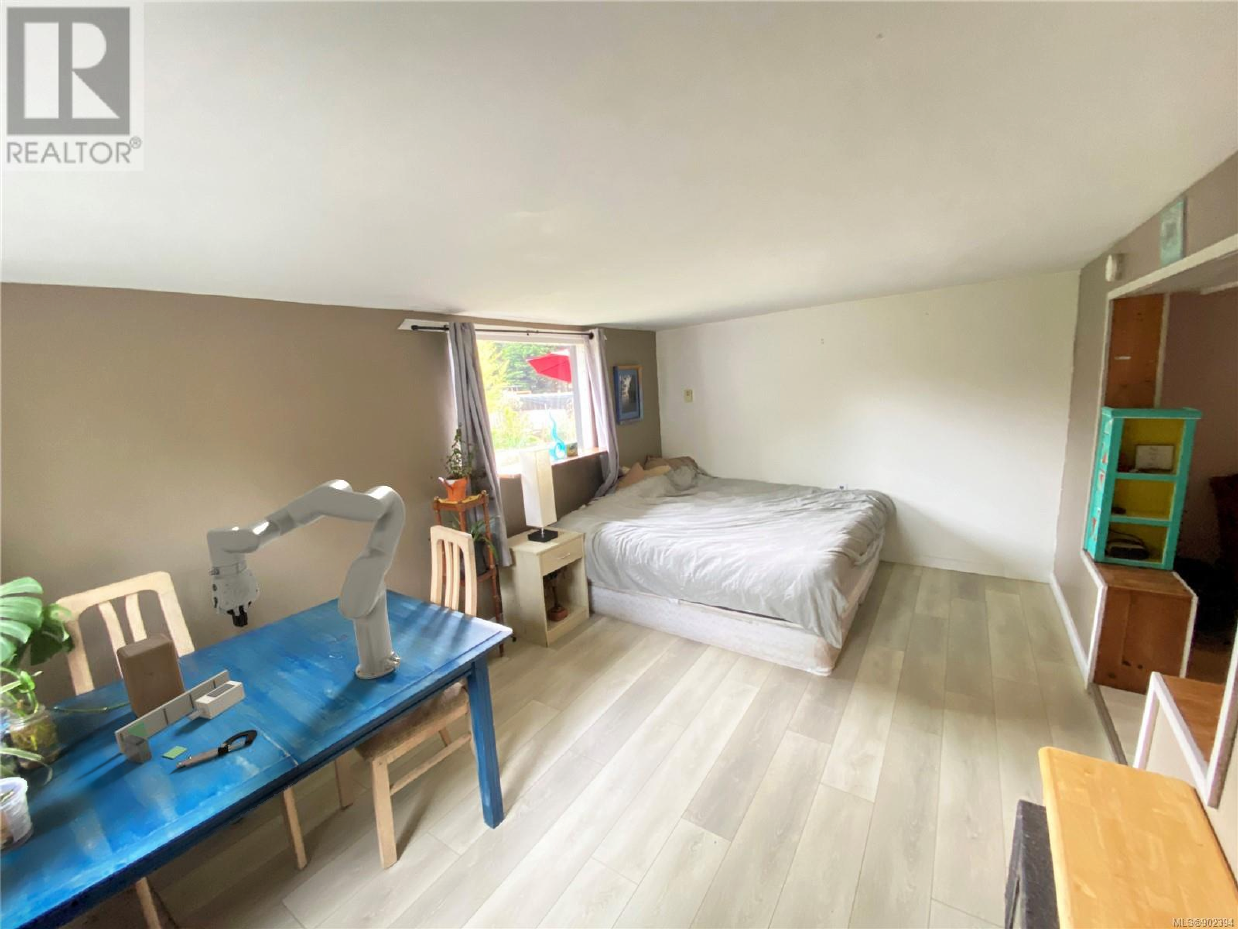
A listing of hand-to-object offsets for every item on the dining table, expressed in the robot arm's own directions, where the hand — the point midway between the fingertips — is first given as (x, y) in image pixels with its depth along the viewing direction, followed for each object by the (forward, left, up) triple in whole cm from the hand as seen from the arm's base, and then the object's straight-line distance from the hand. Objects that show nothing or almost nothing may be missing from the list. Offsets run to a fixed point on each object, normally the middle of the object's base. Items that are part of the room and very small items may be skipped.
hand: (241, 625), depth 136 cm
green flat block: (-7, +24, -21) cm, 33 cm away
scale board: (+7, +15, -21) cm, 26 cm away
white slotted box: (0, +10, -21) cm, 23 cm away
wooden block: (+19, +13, -21) cm, 31 cm away
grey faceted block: (0, +28, -21) cm, 35 cm away
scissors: (-17, +20, -21) cm, 34 cm away
